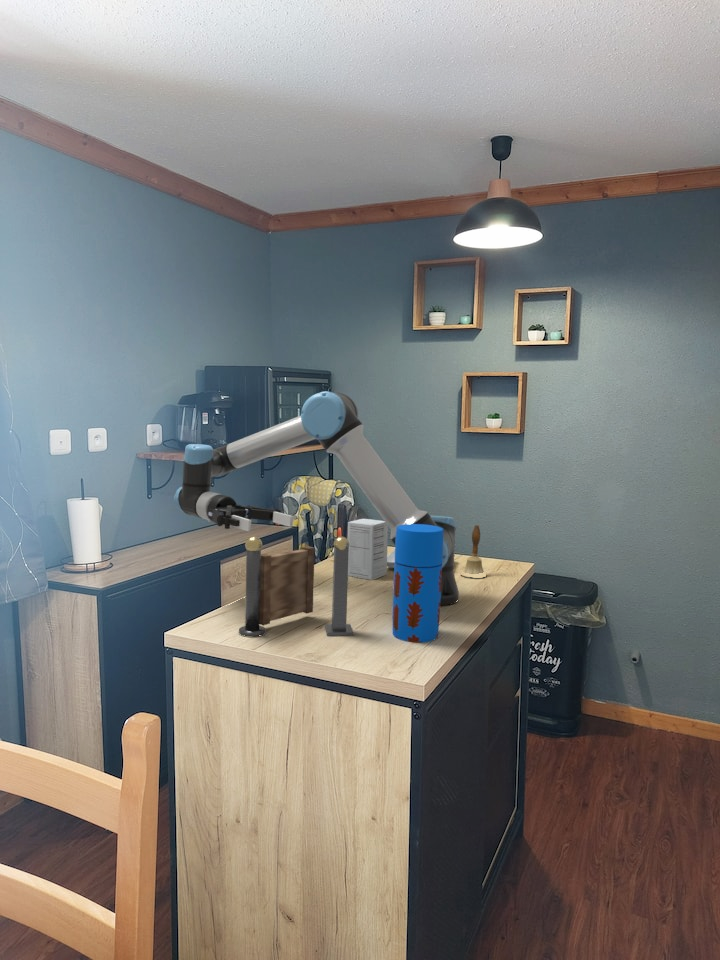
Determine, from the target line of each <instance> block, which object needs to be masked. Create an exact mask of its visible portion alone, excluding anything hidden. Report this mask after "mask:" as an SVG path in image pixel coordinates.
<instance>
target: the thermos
mask: <svg viewBox="0 0 720 960" xmlns="http://www.w3.org/2000/svg"><path fill="white" fill-rule="evenodd" d="M443 538H444V536H443V529H442V528H441V527H438V526H433V525H424V524H405V525H399V526H397V530H396V539H395V544H394V550H395V564H394V569H393V570H394V572H393V593H392V624H391V625H392V636H393V637H394V638H396V639H398V640H401V641H404V642H410V643H429V642H432V640H433V641H435V640H436V638H437V639H438V636H439V629H440V621H441V606H440V601H441V580H442V559H443ZM434 639H435V640H434ZM428 641H429V642H428Z"/></svg>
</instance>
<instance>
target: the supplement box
mask: <svg viewBox="0 0 720 960" xmlns="http://www.w3.org/2000/svg"><path fill="white" fill-rule="evenodd" d="M388 533H389V526H388V525H387V523H386V522H385V521H384V520H379V519H370V518H359V519H354V520H351V521H348V522H347V539H348V541H349V556H348V577H352V576H353V577H352V578H357V577H358V579H364V580H368V581H369V580H370V581H373V580H375V579H378V577H379V578H381V577H385V576H387V575H386V574H388V572H387V571H388V566H387V556H388V539H389V538H388V536H389V535H388Z"/></svg>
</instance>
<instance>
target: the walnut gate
mask: <svg viewBox="0 0 720 960" xmlns="http://www.w3.org/2000/svg"><path fill="white" fill-rule="evenodd" d="M315 553H316V551H315V547H313V546H309V545H306V546H302V547H301V549H296V550H292V551H286V552H279V553H275V554H268V553H261V571H260V624H259V625H260V626H266V625H270V624H271V622H272V621H277V620H279V619H282V618H283V619H285V618H286V617H290V616H294V615H295V616H296V615H299V614H302V613H303V614H311V613H313V612H314V588H315V587H314V586H315V585H314V583H315V578H314V577H315Z"/></svg>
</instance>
